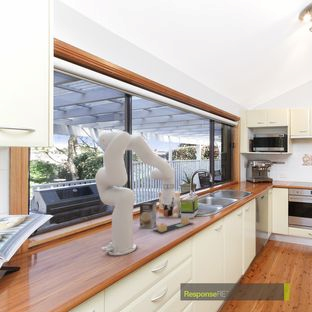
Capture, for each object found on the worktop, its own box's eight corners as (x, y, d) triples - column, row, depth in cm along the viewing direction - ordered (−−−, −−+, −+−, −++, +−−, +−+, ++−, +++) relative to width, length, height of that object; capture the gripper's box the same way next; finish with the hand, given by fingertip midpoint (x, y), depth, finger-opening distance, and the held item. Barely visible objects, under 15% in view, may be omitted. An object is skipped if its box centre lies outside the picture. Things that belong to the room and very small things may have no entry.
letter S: (167, 217, 139) (167, 210, 139) (163, 216, 141) (163, 209, 141) (172, 216, 142) (172, 209, 142) (168, 215, 145) (168, 208, 145)
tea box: (186, 213, 183) (186, 195, 183) (198, 213, 182) (198, 195, 182) (180, 218, 168) (180, 199, 168) (193, 218, 167) (193, 199, 167)
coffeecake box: (158, 217, 170) (158, 192, 170) (162, 215, 177) (162, 191, 177) (177, 217, 170) (177, 192, 170) (180, 215, 177) (180, 191, 177)
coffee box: (139, 228, 144) (139, 204, 144) (144, 225, 151) (144, 202, 151) (152, 228, 143) (152, 204, 143) (156, 225, 150) (156, 202, 150)
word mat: (161, 234, 132) (161, 227, 132) (152, 231, 138) (152, 224, 138) (194, 224, 153) (194, 218, 153) (184, 221, 159) (184, 215, 159)
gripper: (156, 186, 144) (155, 214, 144) (171, 188, 134) (171, 218, 134) (165, 185, 150) (165, 212, 150) (181, 187, 140) (180, 215, 140)
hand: (168, 214), depth 142 cm, fingers closed on letter S, 4 cm apart
